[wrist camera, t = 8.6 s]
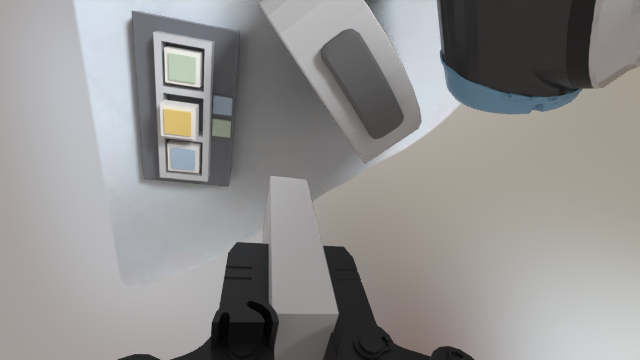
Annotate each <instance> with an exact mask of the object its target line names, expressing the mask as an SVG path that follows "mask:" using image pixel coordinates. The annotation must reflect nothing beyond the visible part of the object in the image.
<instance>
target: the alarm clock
mask: <svg viewBox="0 0 640 360" xmlns="http://www.w3.org/2000/svg"><path fill="white" fill-rule="evenodd" d="M259 7H260V8H261V10H262V12H263V13H264V15H265V16H266V18H267V19H268V21H269V22H270V24H271V25H272V27H273V28H274V30H275V31H276V33H277V34H278V36H279V38H280V39H281V41H282V42H283V44H284V45H285V47H286V48H287V50H288V51H289V53H290V54H291V56H292V57H293V59H294V60H295V62H296V63H297V65H298V66H299V68H300V69H301V71H302V72H303V74H304V75H305V77H306V78H307V80H308V81H309V83H310V84H311V86H312V87H313V89H314V90H315V92H316V93H317V94H318V96H319V97H320V99H321V100H322V102H323V103H324V105H325V106H326V108H327V109H328V111H329V112H330V114H331V115H332V117H333V118H334V120H335V121H336V123H337V124H338V126H339V127H340V129H341V130H342V132H343V133H344V135H345V136H346V138H347V139H348V140H349V142H350V143H351V145H352V146H353V148H354V149H355V151H356V152H357V154H358V155H359V156H360V158H361V159H362V161H363V162H364V163H367V162H368V161H370V160H372V159H373V158H375V157H376V156H378V155H379V154H381V153H382V152H384V151H385V150H387V149H388V148H390V147H391V146H393V145H394V144H396V143H397V142H399V141H400V140H402V139H403V138H405V137H406V136H408V135H409V134H411V133H413V132H414V131H416V130H417V129H418V128H419V126H420V124H421V114H420V108H419V105H418V102H417V99H416V96H415V92H414V89H413V87H412V85H411V83H410V80H409V78H408V76H407V74H406V71H405V69H404V67H403V65H402V63H401V61H400V59H399V57H398V55H397V53H396V51H395V50H394V48H393V46H392V44H391V42H390V40H389V38H388V37H387V35H386V33H385V32H384V30H383V28H382V27H381V25H380V24H379V22H378V20H377V19H376V17H375V16H374V14H373V12H372V11H371V9H370V8H369V6H368V5H367V4H366V2H365V1H364V0H262V1H261V2H260V3H259Z"/></svg>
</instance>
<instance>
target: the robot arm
mask: <svg viewBox="0 0 640 360" xmlns="http://www.w3.org/2000/svg"><path fill="white" fill-rule="evenodd" d="M437 9H438V19H439V28H440V38H441V48H442V49H441V51H440V58H441V62H442V64H443V66H444V71H445V78H446V84H447V88H448V90H449V91H450V92H451V93H452V95H453V96H454V98H455V99H456V100H458V101H459V102H461V103H462V104H464V105H466V106H468V107H471V108H474V109H477V110H481V111H486V112H491V113H499V114H529V113H530V112H531V111H532V110H538V111H542V112H544V111H549V110H552V109H556V108H559V107H561V106H563V105H565V104H568V103H570V102H571V101H572V100H574V99H575V98H576V97H577V96H578V94H579V93H580V92H581V91H582V89H583V88H596V89H597V88H604V87H605V86H607V85H608V84H610V83H611V82H613V81H614V80H616V79H617V78H619V77H620V76H621V75H623V74H625V73H626V72H628V71H630V70H632V69H635V68H637V67H640V0H437ZM118 360H160V359H158V358H156V357H154V356H151V355H149V354H134V355H131V356H127V357H124V358H121V359H118ZM171 360H474V359H473V358H472V357H471V356H469V355H468V354H466V353H464V352H463V351H461V350H460V349H456V348H453V347H450V346H445V347H439V348H438V349H436V350H435V351H433V353H432V355H431V357H430V356H427V355H423V354H421V353H417V352H414V351H411V350H408V349H405V348H402V347H400V346H398V345H396V344H394V343H393V341H392V339H391V338H390V336H389V335H388V334H387V333H386V332H385V331H384V330H383V329H382V328H380V327H379V326H377V324H376V322H375V319H374V316H373V313H372V310H371V308H370V305H369V302H368V299H367V296H366V293H365V290H364V288H363V285H362V282H361V279H360V276H359V274H358V272H357V268H356V265H355V262H354V259H353V257H352V256H351V255H350V254H349V252H348V251H347V250H346V249H345V248H344V247H336V246H323V245H322V241H321V237H320V233H319V228H318V224H317V220H316V216H315V212H314V207H313V203H312V199H311V195H310V191H309V186H308V182H307V179H298V178H288V177H278V176H270V182H269V189H268V197H267V204H266V212H265V220H264V227H263V244H260V243H243V242H237V243H236V244H235V245H234V247H233V248H232V249H231V250H230V252H229V253H228V259H227V265H226V271H225V276H224V282H223V289H222V295H221V301H220V307H219V310H218V311H217V312H216V314H215V316H214V319H213V321H212V330H211V337H210V338H209V339H208V340H207V341H206V342H205V343H204V344H203V345H202V346H201V347H199V348H198V349H196V350H195V351H193V352H190V353H188V354H186V355H183V356H180V357H177V358H174V359H171Z"/></svg>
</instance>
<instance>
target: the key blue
mask: <svg viewBox="0 0 640 360" xmlns="http://www.w3.org/2000/svg"><path fill="white" fill-rule="evenodd" d="M167 150H168V170H170V171H180V172H191V173H199V171H200V169H201V155H202V142H194V141H185V140H177V139H170V141H169V142H168V143H167Z"/></svg>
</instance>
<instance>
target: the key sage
mask: <svg viewBox="0 0 640 360" xmlns="http://www.w3.org/2000/svg"><path fill="white" fill-rule="evenodd" d="M203 55H204V52H201V51H196V50H190V49H185V48H179V47H173V46H167V47H164V57H165V82H167V83H173V84H180V85H186V86H193V87H199V88H200V87H201V86H202V85H203Z"/></svg>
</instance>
